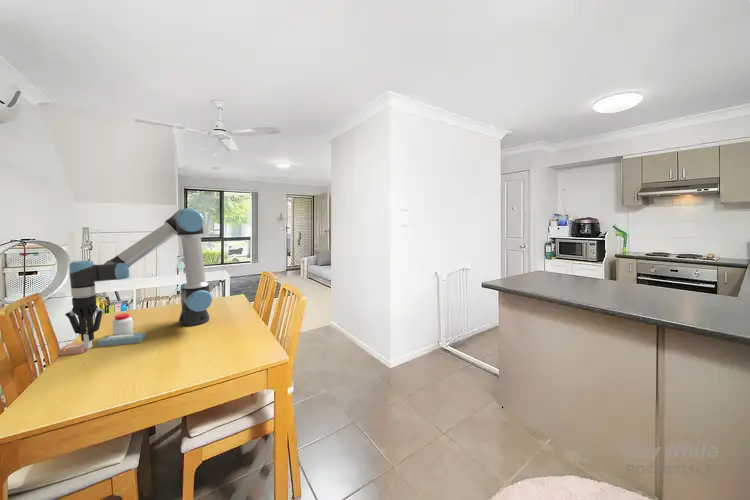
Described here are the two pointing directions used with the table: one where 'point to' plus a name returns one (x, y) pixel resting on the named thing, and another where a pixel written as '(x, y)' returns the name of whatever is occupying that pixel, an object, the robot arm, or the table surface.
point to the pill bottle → (122, 324)
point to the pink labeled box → (72, 349)
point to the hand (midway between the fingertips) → (88, 347)
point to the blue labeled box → (122, 339)
